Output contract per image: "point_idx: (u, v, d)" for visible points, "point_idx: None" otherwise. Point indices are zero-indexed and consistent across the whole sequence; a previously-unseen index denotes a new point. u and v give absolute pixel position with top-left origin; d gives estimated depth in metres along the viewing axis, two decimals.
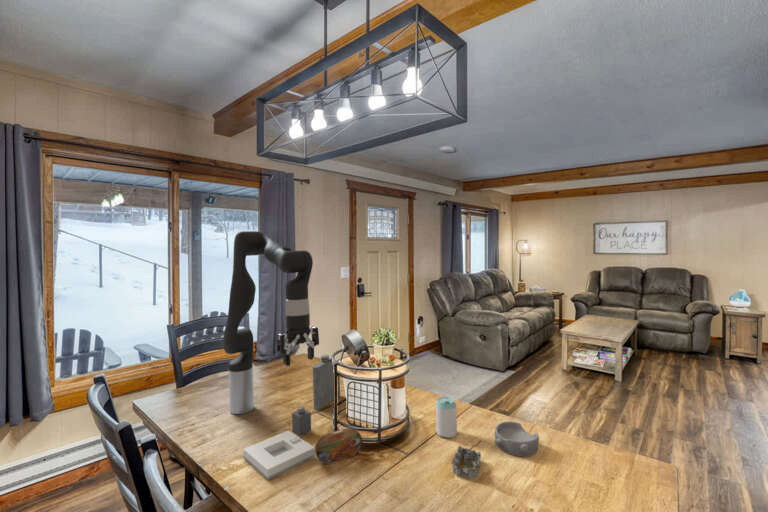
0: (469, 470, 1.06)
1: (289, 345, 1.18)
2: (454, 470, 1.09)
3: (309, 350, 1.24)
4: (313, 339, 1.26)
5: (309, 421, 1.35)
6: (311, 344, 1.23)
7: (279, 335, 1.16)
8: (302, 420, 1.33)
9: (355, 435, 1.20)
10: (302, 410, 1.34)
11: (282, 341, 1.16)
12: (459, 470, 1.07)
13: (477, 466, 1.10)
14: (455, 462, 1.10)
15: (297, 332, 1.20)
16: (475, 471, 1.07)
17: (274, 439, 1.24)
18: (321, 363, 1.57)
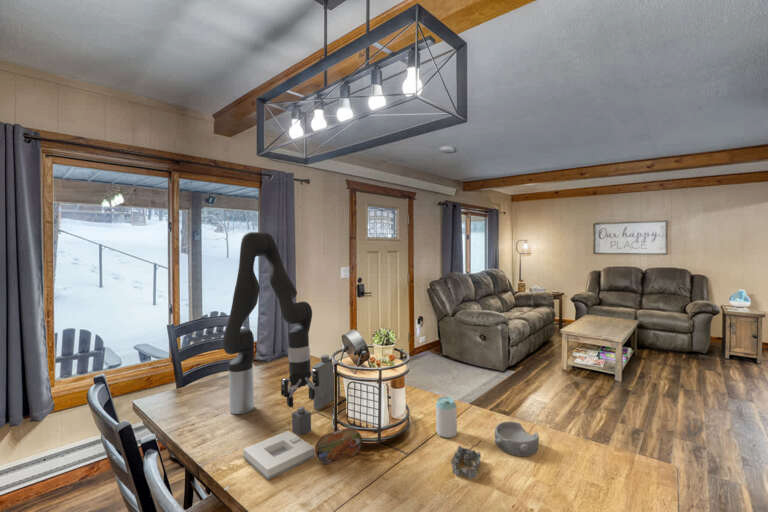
0: (468, 470, 1.06)
1: (292, 389, 1.31)
2: (453, 470, 1.09)
3: (310, 391, 1.37)
4: (314, 380, 1.39)
5: (309, 421, 1.35)
6: (312, 386, 1.37)
7: (283, 380, 1.30)
8: (302, 420, 1.33)
9: (355, 435, 1.20)
10: (302, 410, 1.34)
11: (286, 386, 1.29)
12: (458, 470, 1.07)
13: (476, 466, 1.10)
14: (454, 462, 1.10)
15: (299, 376, 1.33)
16: (474, 471, 1.07)
17: (274, 439, 1.24)
18: (321, 363, 1.57)
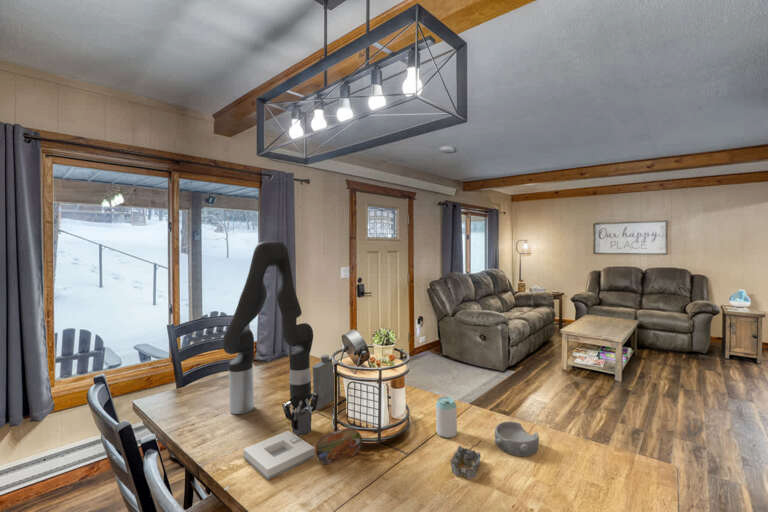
0: (467, 470, 1.06)
1: (295, 412, 1.32)
2: (453, 469, 1.09)
3: None
4: (311, 404, 1.39)
5: (309, 421, 1.35)
6: (309, 411, 1.36)
7: (284, 406, 1.30)
8: (302, 420, 1.33)
9: (355, 435, 1.20)
10: (302, 410, 1.34)
11: (288, 410, 1.30)
12: (457, 470, 1.07)
13: (476, 466, 1.10)
14: (454, 462, 1.10)
15: (300, 398, 1.33)
16: (473, 471, 1.06)
17: (274, 439, 1.24)
18: (321, 363, 1.57)
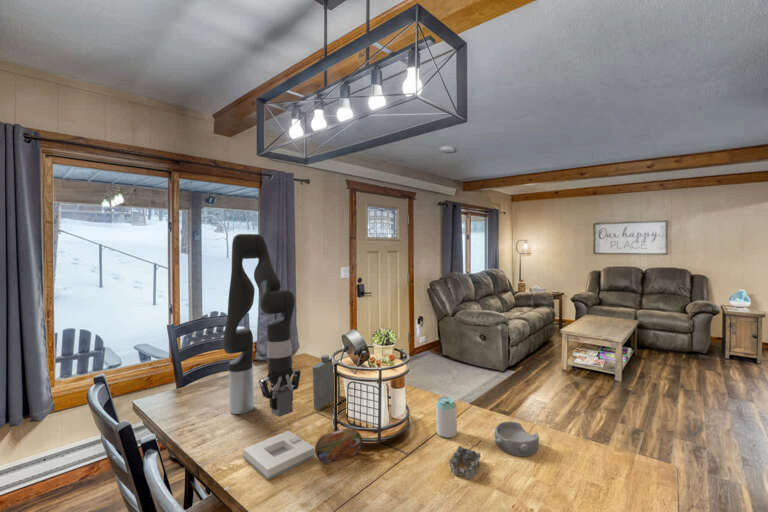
0: (466, 470, 1.06)
1: (273, 389, 1.17)
2: (452, 469, 1.09)
3: None
4: (293, 382, 1.24)
5: (290, 400, 1.19)
6: None
7: (261, 382, 1.15)
8: (282, 399, 1.17)
9: (355, 435, 1.20)
10: (282, 387, 1.19)
11: (265, 387, 1.15)
12: (456, 469, 1.07)
13: (475, 466, 1.09)
14: (453, 461, 1.10)
15: (279, 374, 1.18)
16: (472, 471, 1.06)
17: (274, 439, 1.24)
18: (321, 363, 1.57)
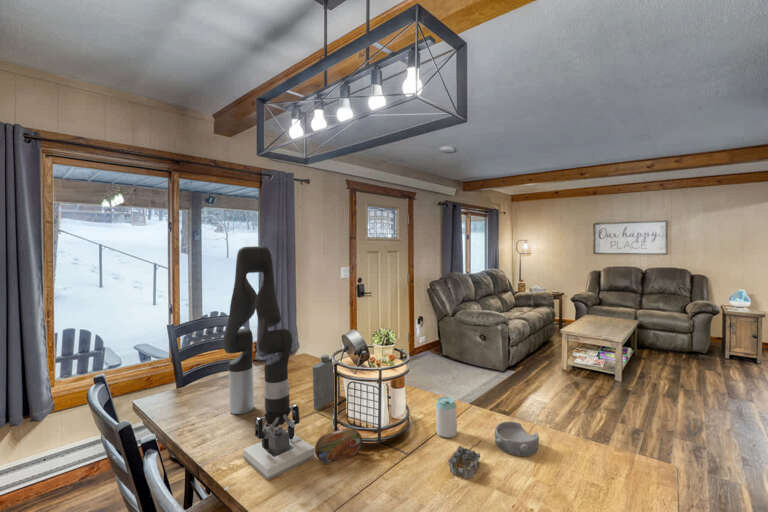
0: (464, 470, 1.06)
1: (268, 429, 1.15)
2: (450, 469, 1.09)
3: (289, 429, 1.21)
4: (293, 417, 1.24)
5: (287, 443, 1.18)
6: (291, 424, 1.21)
7: (257, 419, 1.14)
8: (279, 442, 1.16)
9: (355, 435, 1.20)
10: (279, 431, 1.18)
11: (260, 426, 1.13)
12: (454, 469, 1.08)
13: (474, 467, 1.09)
14: (452, 461, 1.11)
15: (276, 414, 1.17)
16: (470, 471, 1.06)
17: None
18: (321, 363, 1.57)
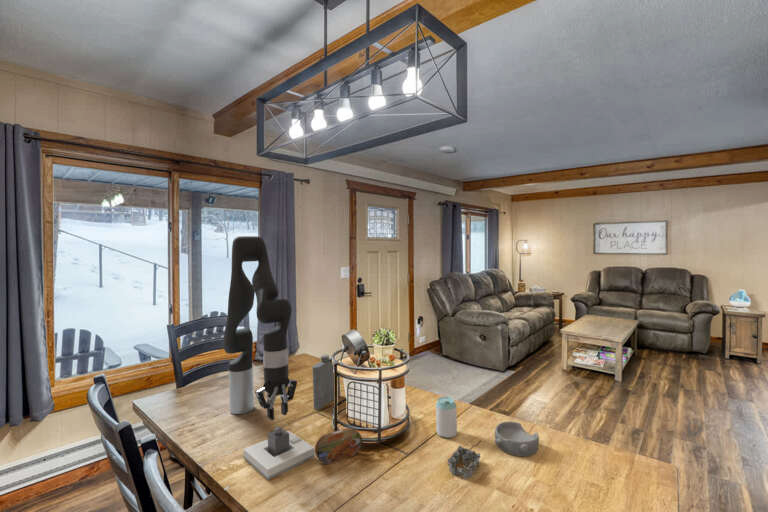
0: (463, 469, 1.06)
1: (270, 399, 1.16)
2: (450, 468, 1.10)
3: (282, 405, 1.20)
4: (288, 392, 1.22)
5: (287, 443, 1.18)
6: (284, 399, 1.19)
7: (257, 393, 1.14)
8: (279, 442, 1.16)
9: (355, 435, 1.20)
10: (279, 431, 1.18)
11: (262, 398, 1.13)
12: (454, 469, 1.08)
13: (474, 467, 1.09)
14: (451, 461, 1.11)
15: (275, 384, 1.17)
16: (470, 471, 1.06)
17: None
18: (321, 363, 1.57)
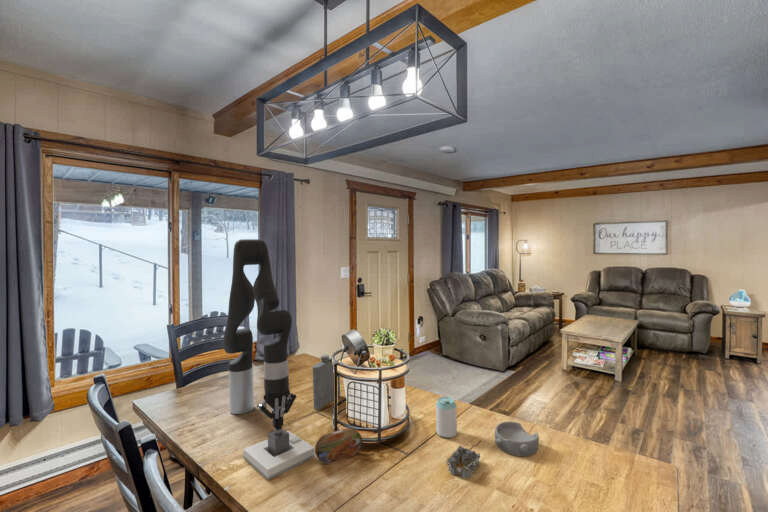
0: (462, 469, 1.06)
1: (274, 410, 1.17)
2: (449, 468, 1.10)
3: None
4: (285, 405, 1.21)
5: (287, 443, 1.18)
6: (280, 413, 1.18)
7: (259, 407, 1.14)
8: (279, 442, 1.16)
9: (355, 435, 1.20)
10: (279, 431, 1.18)
11: (265, 411, 1.14)
12: (453, 468, 1.08)
13: (473, 467, 1.09)
14: (451, 460, 1.11)
15: (275, 395, 1.17)
16: (469, 471, 1.07)
17: None
18: (321, 363, 1.57)
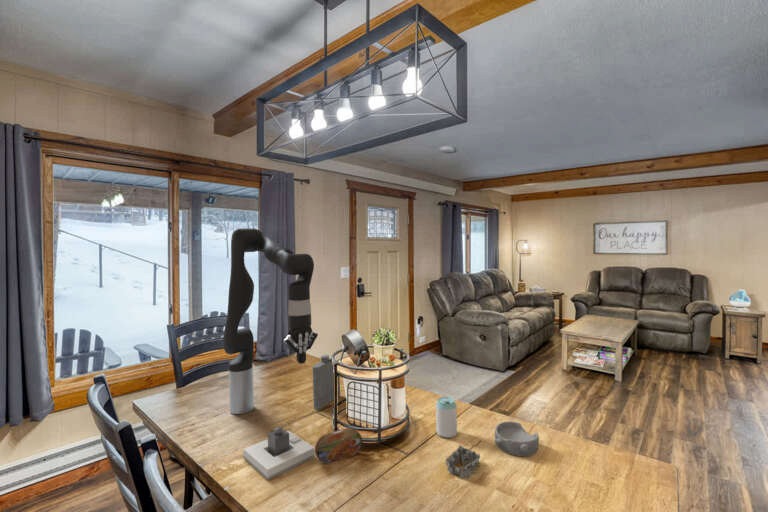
0: (461, 469, 1.07)
1: (298, 345, 1.26)
2: (448, 467, 1.10)
3: None
4: None
5: (287, 443, 1.18)
6: (303, 348, 1.27)
7: (284, 341, 1.23)
8: (279, 442, 1.16)
9: (355, 435, 1.20)
10: (279, 431, 1.18)
11: (290, 344, 1.24)
12: (452, 468, 1.08)
13: (472, 467, 1.09)
14: (450, 460, 1.11)
15: (299, 331, 1.26)
16: (467, 471, 1.07)
17: None
18: (321, 363, 1.57)
